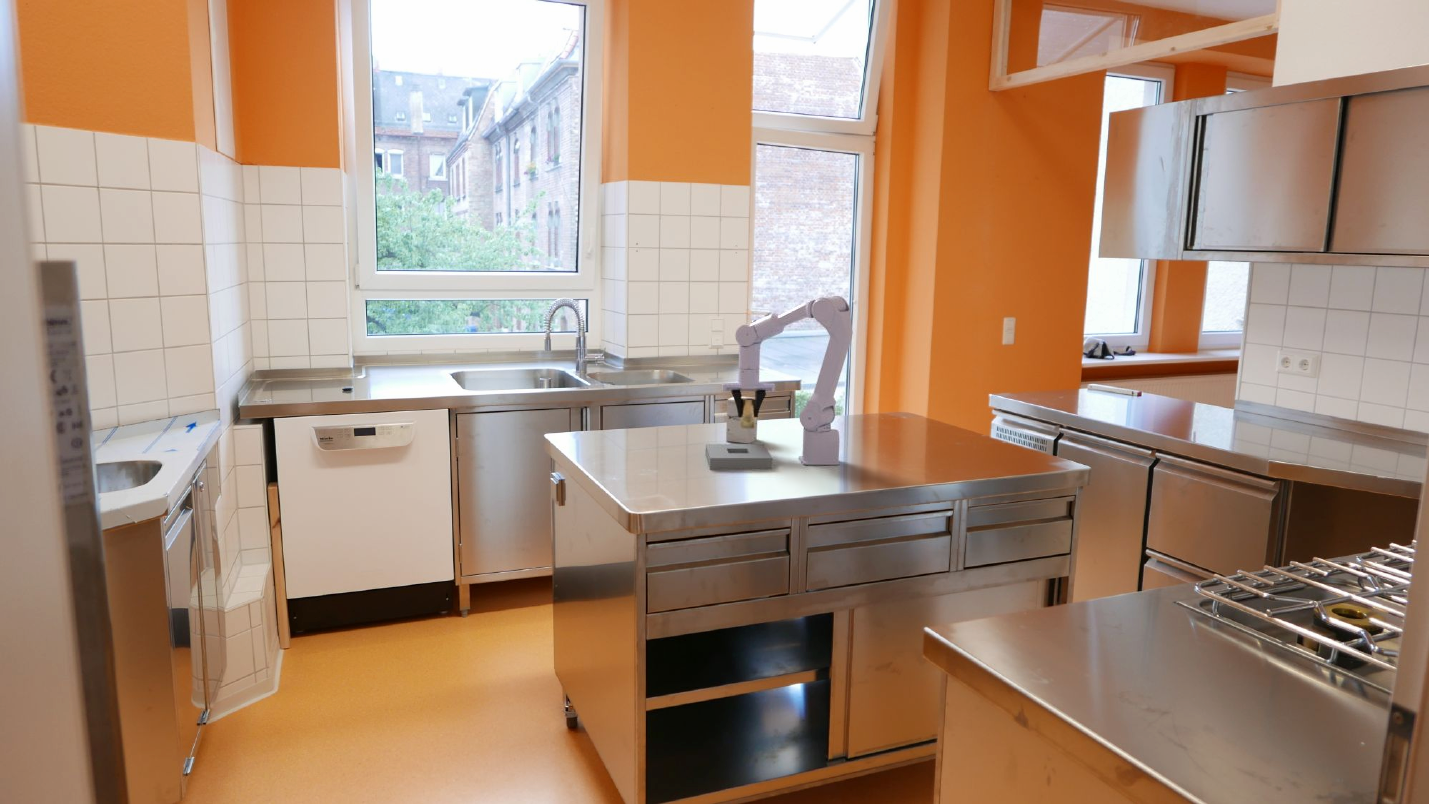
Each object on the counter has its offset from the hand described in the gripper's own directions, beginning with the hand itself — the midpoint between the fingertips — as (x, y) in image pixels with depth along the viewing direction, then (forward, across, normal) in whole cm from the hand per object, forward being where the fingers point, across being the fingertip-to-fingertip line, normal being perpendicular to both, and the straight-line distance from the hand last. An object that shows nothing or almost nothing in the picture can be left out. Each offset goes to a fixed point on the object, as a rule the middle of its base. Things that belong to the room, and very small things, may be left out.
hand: (747, 416), depth 252 cm
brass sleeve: (+3, 0, 0) cm, 3 cm away
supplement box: (+10, 0, -13) cm, 16 cm away
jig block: (+10, +4, +13) cm, 17 cm away
